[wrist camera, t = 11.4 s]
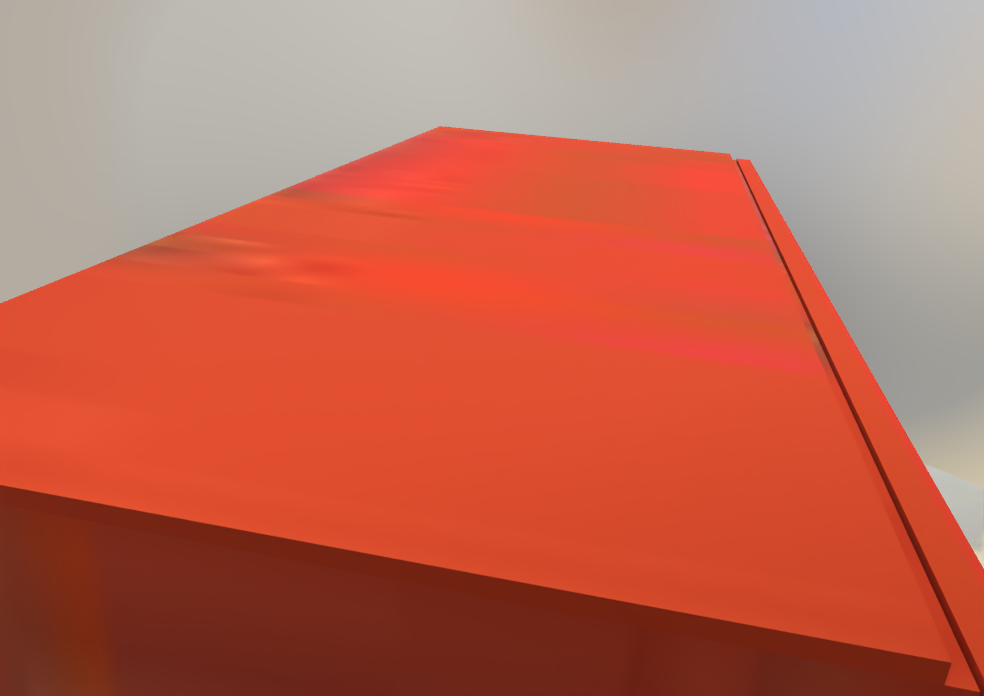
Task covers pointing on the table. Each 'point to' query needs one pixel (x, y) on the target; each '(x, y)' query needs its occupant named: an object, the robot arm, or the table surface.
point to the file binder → (470, 449)
